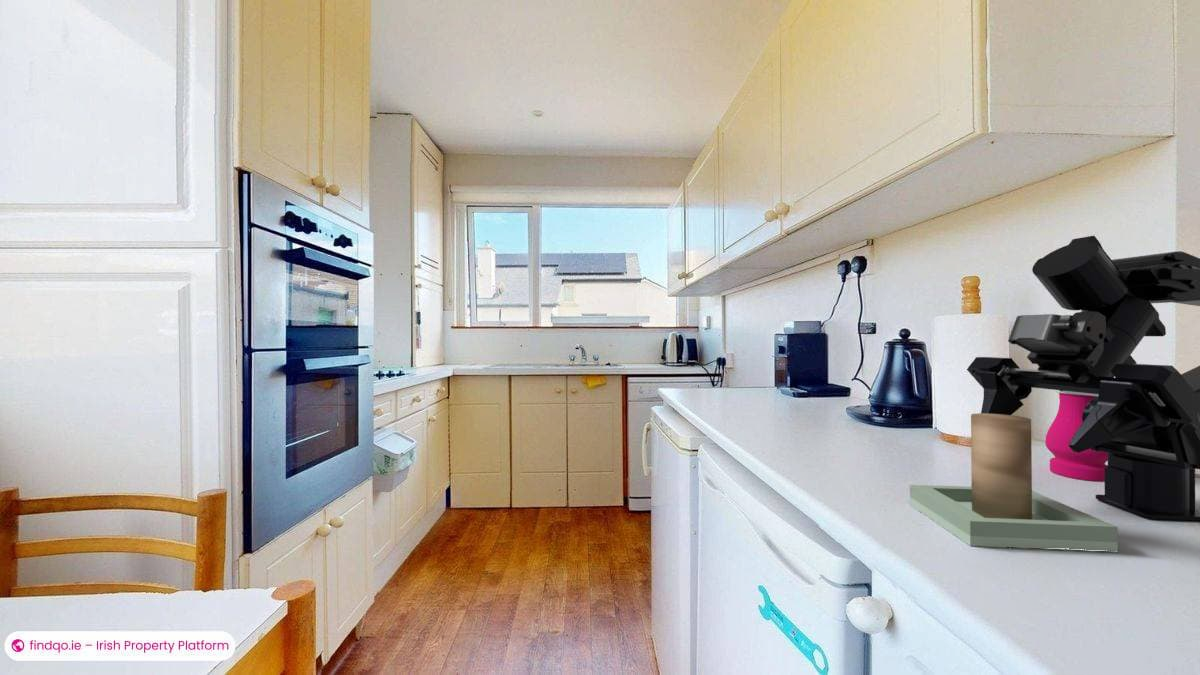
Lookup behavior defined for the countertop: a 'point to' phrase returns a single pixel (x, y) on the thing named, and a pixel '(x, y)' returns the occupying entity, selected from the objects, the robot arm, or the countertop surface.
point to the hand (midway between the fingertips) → (1023, 439)
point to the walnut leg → (1001, 466)
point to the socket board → (1013, 522)
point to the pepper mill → (1060, 435)
